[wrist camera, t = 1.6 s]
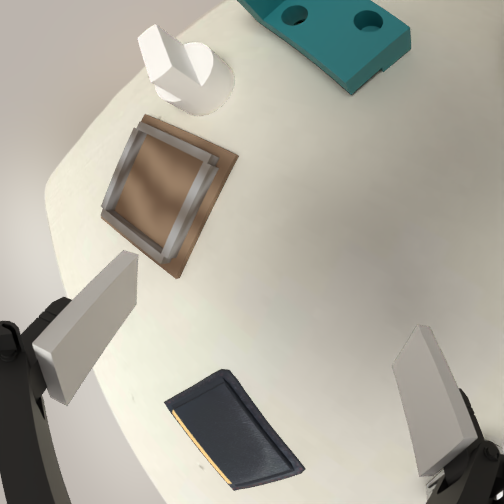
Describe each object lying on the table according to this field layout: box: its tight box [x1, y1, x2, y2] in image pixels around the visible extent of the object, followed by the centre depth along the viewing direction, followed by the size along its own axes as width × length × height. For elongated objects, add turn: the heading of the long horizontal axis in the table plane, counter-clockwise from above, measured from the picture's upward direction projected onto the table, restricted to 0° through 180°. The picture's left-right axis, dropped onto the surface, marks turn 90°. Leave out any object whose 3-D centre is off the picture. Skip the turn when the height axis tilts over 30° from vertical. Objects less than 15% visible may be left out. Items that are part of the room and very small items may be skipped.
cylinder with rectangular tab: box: [138, 24, 235, 116], centre depth 35 cm, size 9×9×12 cm
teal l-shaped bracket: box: [237, 0, 411, 95], centre depth 28 cm, size 18×11×10 cm, turn 39°
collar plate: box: [101, 114, 239, 279], centre depth 42 cm, size 18×18×3 cm
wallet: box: [164, 369, 305, 491], centre depth 41 cm, size 20×2×15 cm
